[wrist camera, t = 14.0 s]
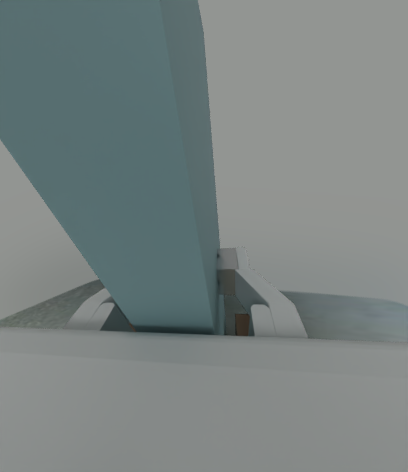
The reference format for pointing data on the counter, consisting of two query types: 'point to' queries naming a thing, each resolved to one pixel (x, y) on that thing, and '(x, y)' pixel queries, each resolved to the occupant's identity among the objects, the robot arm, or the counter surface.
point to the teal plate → (120, 146)
